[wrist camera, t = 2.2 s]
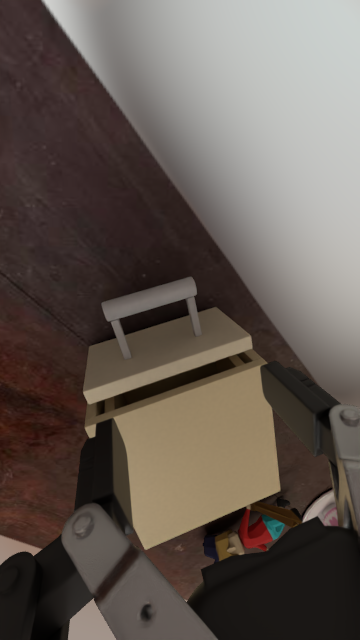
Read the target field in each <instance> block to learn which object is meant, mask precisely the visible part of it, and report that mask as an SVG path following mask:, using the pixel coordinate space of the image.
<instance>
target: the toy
mask: <svg viewBox="0 0 360 640" xmlns="http://www.w3.org/2000/svg"><path fill="white" fill-rule="evenodd" d="M287 505H290V502H289V501H288V500H284V499H277V506H278V507H276V506H272V505H269V504H265V503H261V502H257V501H256V502H254V503H252V504H249V505H247V506H246V511H245V514H244V516H243V518H242V521H241V525H240V528H239V530H238V532H236V531H233V532H232V530H231V529H230V530H228V531H226V532H224V533H222V534H220V535H206V536H205V537H204V543H203V546H204V554H205V555H206V556H207V557H210V558H213V559H215V562H214V563H216V562H218V561H221V560H223V559H225V558H227V557H229V556H233V555H242V554H244V550H245V549H244V546H245V547H246V548H248V549H249V548H253V547H258V548H260V549H262V550H263V551H267V550H268V548H267V547H266V546H265V545H264V544H266V543H268V542H270V541H273V540H274V539H276V538H278V537H279V536H280V534H281V532H282V530H283V528H284V526H285V525H288V526H290V527H292V528H293V527H295V526H297V525H298V523H299V524H301V523H302V521H303V520H302V517H301V515H300V513H299V512H298V510H297V509H295V508H293V509H291V510H288V509H284V508H285V506H287ZM250 510H253V511H256V510H257V511H259V512H261V513H263V514H265V515H261V516H260V518H259V519H258V520H257V522H256V523H254V524H252V525H250V526H249V527H248V523H249V514H250ZM297 522H298V523H297ZM243 545H244V546H243Z"/></svg>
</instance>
